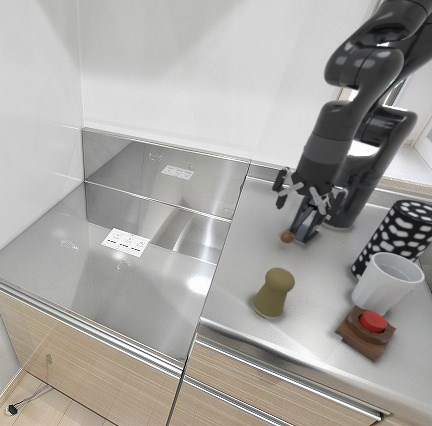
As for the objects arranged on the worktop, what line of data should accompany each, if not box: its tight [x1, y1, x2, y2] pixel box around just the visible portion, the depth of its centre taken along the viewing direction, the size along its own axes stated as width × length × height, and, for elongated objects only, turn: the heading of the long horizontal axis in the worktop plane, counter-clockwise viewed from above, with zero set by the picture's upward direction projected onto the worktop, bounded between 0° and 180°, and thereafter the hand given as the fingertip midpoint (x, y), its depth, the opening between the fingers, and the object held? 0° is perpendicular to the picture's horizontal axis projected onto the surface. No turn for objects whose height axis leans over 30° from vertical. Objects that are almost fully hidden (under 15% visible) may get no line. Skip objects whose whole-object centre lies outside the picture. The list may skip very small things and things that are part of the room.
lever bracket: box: [285, 195, 332, 245], centre depth 79 cm, size 8×6×13 cm
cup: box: [351, 252, 425, 317], centre depth 60 cm, size 8×8×12 cm
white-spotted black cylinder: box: [350, 199, 432, 281], centre depth 64 cm, size 8×8×20 cm
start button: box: [359, 311, 388, 333], centre depth 56 cm, size 4×4×2 cm
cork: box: [252, 267, 296, 320], centre depth 61 cm, size 6×6×11 cm
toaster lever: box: [279, 199, 318, 245], centre depth 75 cm, size 15×3×3 cm, turn 128°
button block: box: [334, 304, 397, 363], centre depth 57 cm, size 9×7×4 cm
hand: (297, 215), depth 71 cm, fingers open, 8 cm apart
